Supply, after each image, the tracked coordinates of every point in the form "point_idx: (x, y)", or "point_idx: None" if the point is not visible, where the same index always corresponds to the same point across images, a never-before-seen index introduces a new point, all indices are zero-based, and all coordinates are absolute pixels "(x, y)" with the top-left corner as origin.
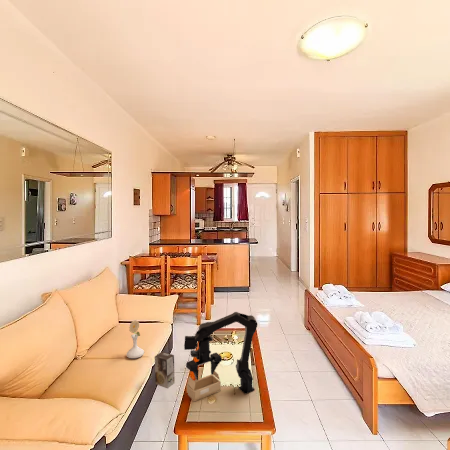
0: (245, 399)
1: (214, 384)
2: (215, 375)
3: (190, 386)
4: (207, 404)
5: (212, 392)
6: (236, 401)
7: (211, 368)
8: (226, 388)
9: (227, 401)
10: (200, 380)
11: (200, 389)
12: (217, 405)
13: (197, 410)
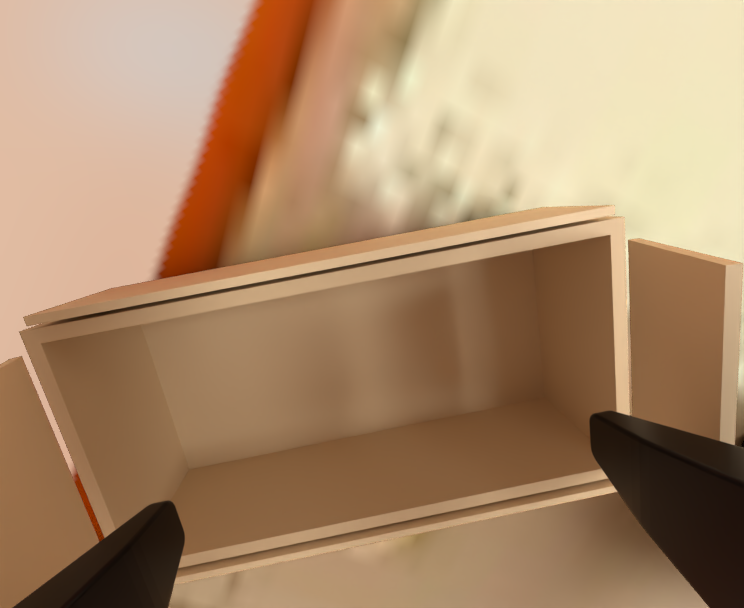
0: (686, 604)
1: (507, 508)
2: (649, 384)
3: (62, 482)
4: (319, 558)
5: (441, 431)
6: (599, 603)
7: (738, 524)
8: (629, 386)
9: (523, 578)
10: (333, 283)
11: (242, 569)
12: (408, 599)
13: (192, 604)
